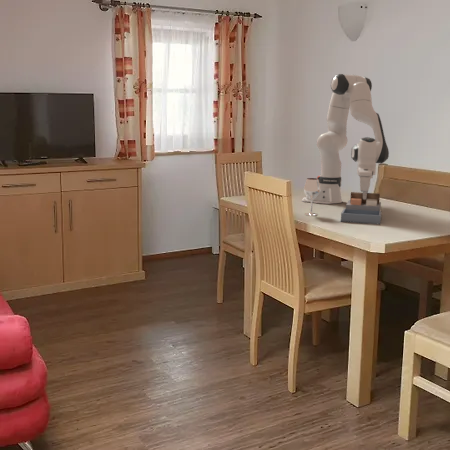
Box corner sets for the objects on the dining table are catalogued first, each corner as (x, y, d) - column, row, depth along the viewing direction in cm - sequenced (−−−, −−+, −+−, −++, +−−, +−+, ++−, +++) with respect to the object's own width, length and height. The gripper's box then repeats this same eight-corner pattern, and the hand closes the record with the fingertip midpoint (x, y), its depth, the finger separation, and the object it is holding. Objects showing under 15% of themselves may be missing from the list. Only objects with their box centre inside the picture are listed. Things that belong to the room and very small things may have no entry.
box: (340, 221, 289) (341, 213, 288) (343, 216, 301) (343, 208, 300) (379, 224, 284) (380, 215, 283) (380, 219, 296) (381, 211, 295)
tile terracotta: (350, 204, 300) (350, 199, 300) (351, 202, 305) (351, 197, 305) (360, 205, 299) (361, 200, 298) (361, 203, 304) (361, 198, 303)
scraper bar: (350, 202, 305) (350, 192, 304) (350, 201, 308) (351, 192, 307) (379, 204, 301) (379, 194, 300) (379, 203, 304) (379, 193, 303)
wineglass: (301, 212, 309) (303, 177, 305) (318, 213, 309) (319, 177, 306) (304, 216, 301) (305, 179, 297) (320, 216, 301) (322, 180, 298)
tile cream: (366, 205, 298) (366, 200, 298) (366, 203, 303) (366, 198, 303) (376, 206, 297) (376, 200, 296) (376, 204, 302) (377, 199, 301)
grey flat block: (345, 216, 301) (346, 204, 299) (348, 211, 314) (348, 200, 312) (378, 218, 296) (379, 206, 295) (380, 213, 309) (380, 202, 308)
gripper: (361, 168, 312) (359, 195, 315) (358, 172, 293) (357, 201, 296) (373, 168, 310) (372, 195, 313) (372, 173, 291) (370, 202, 294)
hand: (364, 198), depth 304 cm, fingers closed on scraper bar, 3 cm apart
